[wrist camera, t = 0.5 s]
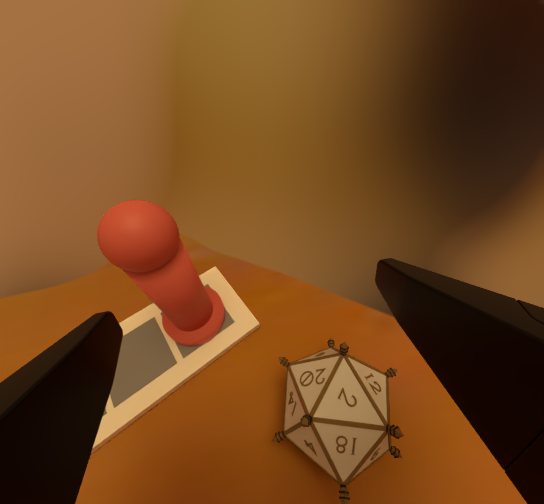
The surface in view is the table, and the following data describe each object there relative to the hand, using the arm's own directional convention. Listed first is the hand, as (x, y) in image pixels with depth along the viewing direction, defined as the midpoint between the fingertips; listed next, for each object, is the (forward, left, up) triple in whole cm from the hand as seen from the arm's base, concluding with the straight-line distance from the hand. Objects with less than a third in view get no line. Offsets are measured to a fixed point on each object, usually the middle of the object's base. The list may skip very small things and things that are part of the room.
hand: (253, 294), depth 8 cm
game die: (-2, -5, -16) cm, 17 cm away
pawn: (+6, +7, -15) cm, 18 cm away
